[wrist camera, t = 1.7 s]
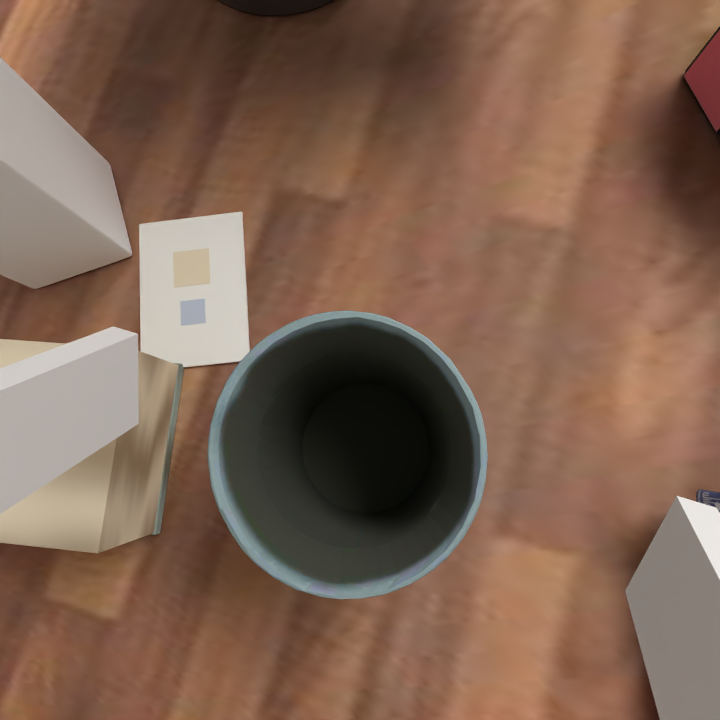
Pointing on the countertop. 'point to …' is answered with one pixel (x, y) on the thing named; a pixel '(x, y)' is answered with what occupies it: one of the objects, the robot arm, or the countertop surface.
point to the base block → (104, 472)
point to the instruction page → (194, 290)
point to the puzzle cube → (707, 79)
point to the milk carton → (52, 193)
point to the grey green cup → (347, 455)
